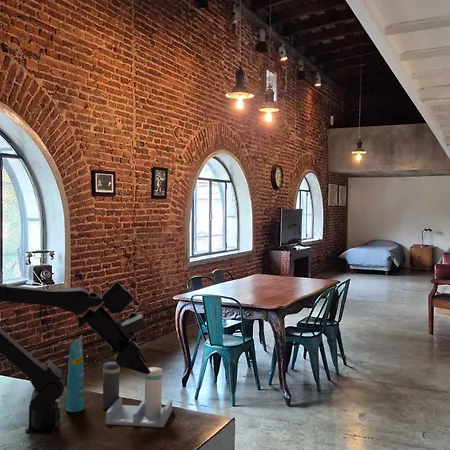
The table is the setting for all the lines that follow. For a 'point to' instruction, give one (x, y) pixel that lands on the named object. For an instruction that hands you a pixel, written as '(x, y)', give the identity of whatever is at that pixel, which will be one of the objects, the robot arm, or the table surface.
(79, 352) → the tube
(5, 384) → the table surface
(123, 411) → the slot rack
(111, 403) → the grey bottle
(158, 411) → the white bottle
